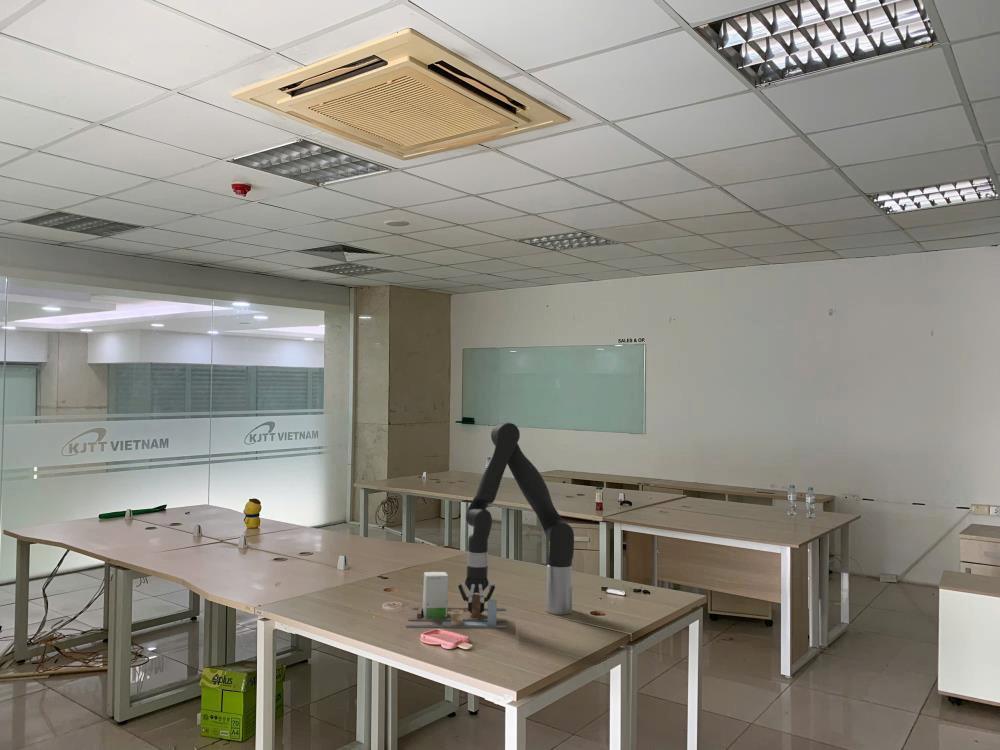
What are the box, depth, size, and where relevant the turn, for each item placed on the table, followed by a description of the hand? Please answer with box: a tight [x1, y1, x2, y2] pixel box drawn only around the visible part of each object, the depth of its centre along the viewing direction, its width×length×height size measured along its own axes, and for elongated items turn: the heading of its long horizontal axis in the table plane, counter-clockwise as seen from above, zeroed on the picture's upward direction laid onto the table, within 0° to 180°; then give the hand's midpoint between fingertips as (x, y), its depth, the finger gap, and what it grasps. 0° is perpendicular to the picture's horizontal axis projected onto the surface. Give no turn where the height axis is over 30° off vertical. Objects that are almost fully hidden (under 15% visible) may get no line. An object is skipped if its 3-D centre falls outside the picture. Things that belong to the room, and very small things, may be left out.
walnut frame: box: [416, 593, 481, 619], centre depth 250 cm, size 22×12×8 cm, turn 91°
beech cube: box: [450, 610, 464, 625], centre depth 239 cm, size 4×4×4 cm
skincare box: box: [422, 571, 449, 618], centre depth 250 cm, size 8×7×16 cm
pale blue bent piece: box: [441, 598, 498, 626], centre depth 240 cm, size 18×5×9 cm, turn 91°
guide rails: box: [405, 606, 508, 629], centre depth 246 cm, size 34×22×2 cm, turn 91°
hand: (475, 612), depth 250 cm, fingers closed on walnut frame, 3 cm apart
